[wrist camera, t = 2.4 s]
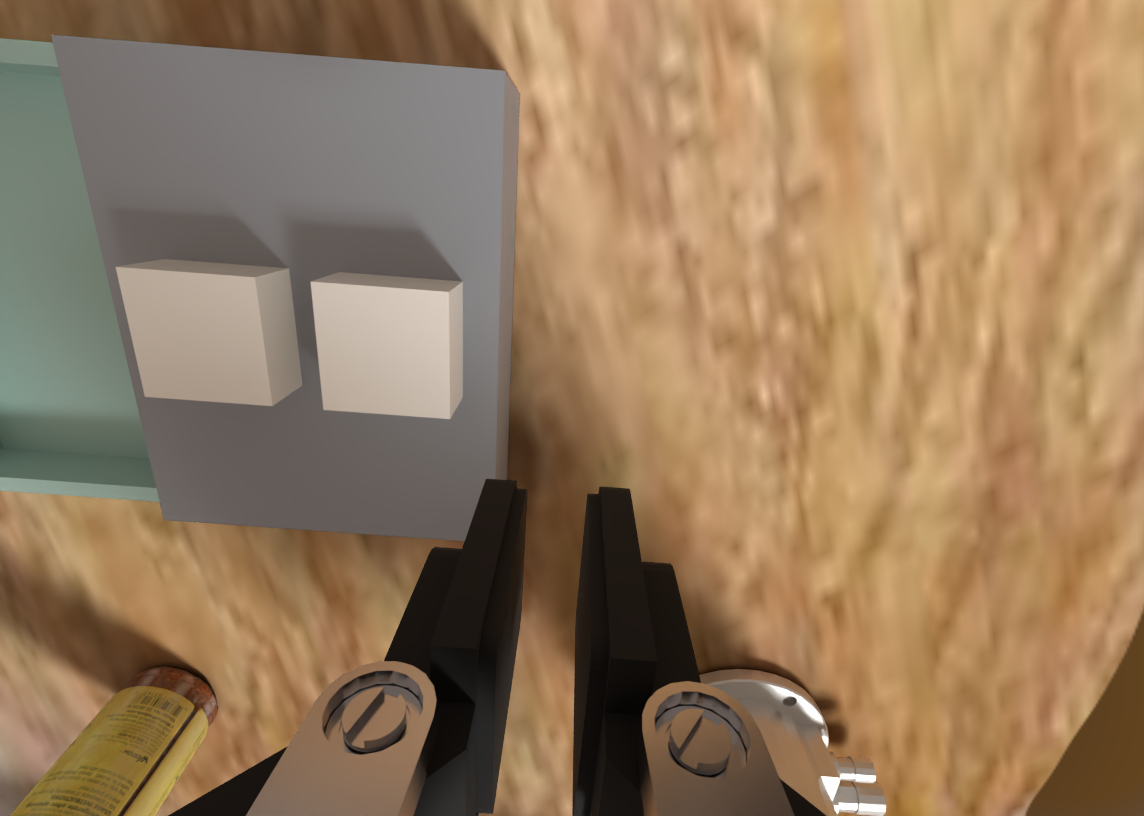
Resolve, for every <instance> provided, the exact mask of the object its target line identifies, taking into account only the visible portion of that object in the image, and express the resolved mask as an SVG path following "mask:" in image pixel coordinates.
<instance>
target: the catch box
mask: <svg viewBox="0 0 1144 816" xmlns="http://www.w3.org/2000/svg"><path fill="white" fill-rule="evenodd" d="M0 491H14V492H28V493H42V494H56V495H70V496H84V497H98V498H112V499H126V500H140V501H154V502H160V501H159V497H158V493H157V488H156V484H155V480H154V476H153V471H152V467H151V463H150V458H149V454H148V450H147V446H146V441H145V437H144V433H143V428H142V424H141V420H140V415H139V411H138V407H137V403H136V398H135V394H134V390H133V385H132V381H131V377H130V373H129V368H128V364H127V360H126V355H125V351H124V347H123V343H122V338H121V334H120V330H119V325H118V321H117V317H116V313H115V308H114V304H113V300H112V295H111V291H110V287H109V282H108V278H107V274H106V270H105V265H104V261H103V257H102V252H101V248H100V244H99V240H98V235H97V231H96V227H95V222H94V218H93V214H92V210H91V205H90V201H89V197H88V192H87V188H86V184H85V180H84V175H83V171H82V167H81V162H80V158H79V154H78V149H77V145H76V141H75V137H74V132H73V128H72V124H71V119H70V115H69V111H68V107H67V102H66V98H65V94H64V89H63V85H62V81H61V77H60V72H59V68H58V64H57V59H56V55H55V51H54V47H53V42H41V41H29V40H16V39H3V38H0Z"/></svg>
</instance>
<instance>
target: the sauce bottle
mask: <svg viewBox="0 0 1144 816" xmlns="http://www.w3.org/2000/svg"><path fill="white" fill-rule="evenodd" d="M217 711H218V706H217V702H216V699H215V697H214V695H213V692H212V690H211V689H210V688H209V686H208V685H207V684H206V683H205V682H203V681H202V680H201V679H200V678H199V677H196V676H195V675H193V674H191V673H189V672H188V671H185V670H181V669H176V668H170V667H167V666H164V667H156V668H155V667H153V668H151V669H148V670H144V671H142V672H140V673H138V674H137V675H135V676H134V677H133V678H132V679H131V681H130V682H129V683H128V684H127V685H126V686H125V687H124V688H123V690H122V691H120V692H118V693H116V694H115V695H114V696H113V697H112V698H111V699H110V700H109V702H108V703H107V704H106V705H105V706H104V707H103V708H102V710H101V711H100V712H99V713H98V714H97V715H96V716H95V718H94V719H93V720H92V721H91V722H90V723H89V724H88V726H87V727H86V728H85V729H84V730H83V731H82V733H81V734H80V735H79V736H78V737H77V738H76V740H75V741H74V742H73V743H72V744H71V745H70V747H69V748H68V749H67V750H66V751H65V752H64V753H63V755H62V756H61V757H60V758H59V759H58V760H57V762H56V763H55V764H54V765H53V766H52V767H51V768H50V770H49V771H48V772H47V773H46V774H45V775H44V776H43V778H42V779H41V780H40V781H39V782H38V783H37V785H36V786H35V787H34V788H33V789H32V790H31V791H30V793H29V794H28V795H27V796H26V797H25V798H24V800H23V801H22V802H21V803H20V804H19V805H18V806H17V808H16V809H15V810H14V811H13V812H12V813H11V815H10V816H155V814H156V813H157V811H158V809H159V808H160V806H161V805H162V803H163V802H164V800H165V799H166V797H167V796H168V794H169V792H170V791H171V789H172V788H173V786H174V784H175V783H176V781H177V780H178V778H179V777H180V775H181V774H182V772H183V770H184V769H185V767H186V766H187V764H188V763H189V761H190V760H191V758H192V757H193V755H194V753H195V752H196V750H197V749H198V747H199V746H200V744H201V743H202V741H203V739H204V738H205V736H206V734H207V731H208V727H209V726H210V724H211V723H212V722H213V720H214V718H215V717H216V714H217Z"/></svg>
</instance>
